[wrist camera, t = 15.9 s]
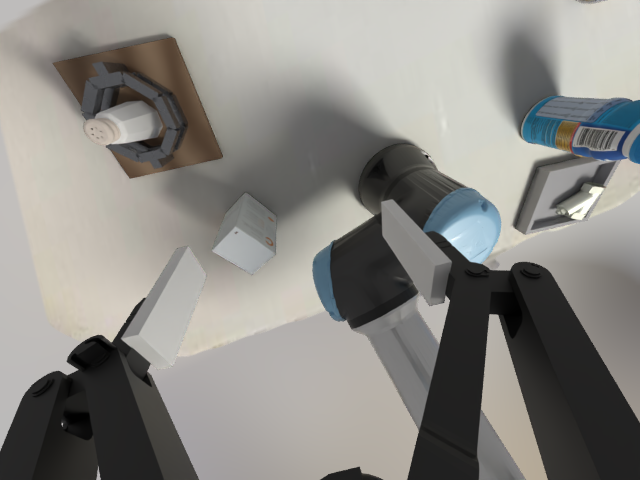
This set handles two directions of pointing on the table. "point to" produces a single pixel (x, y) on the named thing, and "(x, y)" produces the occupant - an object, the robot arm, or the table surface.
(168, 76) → the collar base
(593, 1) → the mug
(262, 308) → the table surface
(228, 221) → the small box
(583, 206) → the pipe fitting
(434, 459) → the robot arm
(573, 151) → the beverage bottle
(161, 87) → the collar frame
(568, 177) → the parts tray
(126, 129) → the pepper shaker
